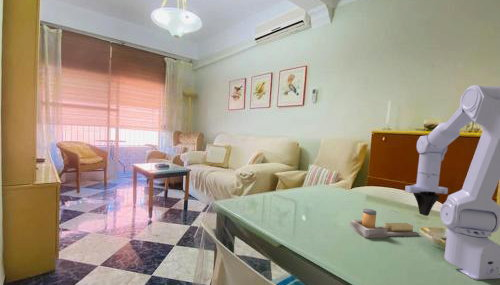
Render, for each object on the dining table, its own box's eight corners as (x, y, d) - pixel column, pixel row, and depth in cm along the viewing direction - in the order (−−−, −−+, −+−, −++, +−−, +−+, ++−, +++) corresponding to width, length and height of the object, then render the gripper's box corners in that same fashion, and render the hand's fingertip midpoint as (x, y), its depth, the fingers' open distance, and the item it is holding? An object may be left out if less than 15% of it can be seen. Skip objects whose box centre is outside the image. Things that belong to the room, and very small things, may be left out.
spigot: (376, 235, 72) (379, 212, 72) (366, 235, 71) (369, 212, 71) (368, 230, 76) (370, 208, 75) (358, 230, 75) (361, 208, 75)
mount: (424, 239, 73) (425, 229, 73) (364, 240, 69) (365, 229, 69) (404, 229, 81) (405, 220, 80) (349, 229, 77) (350, 220, 76)
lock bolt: (412, 233, 75) (413, 225, 75) (390, 233, 74) (391, 226, 74) (405, 230, 78) (406, 222, 78) (384, 230, 76) (385, 222, 76)
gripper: (435, 172, 82) (430, 210, 83) (399, 170, 79) (395, 210, 80) (456, 176, 75) (451, 218, 76) (417, 174, 72) (413, 218, 73)
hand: (423, 214), depth 77 cm, fingers closed
